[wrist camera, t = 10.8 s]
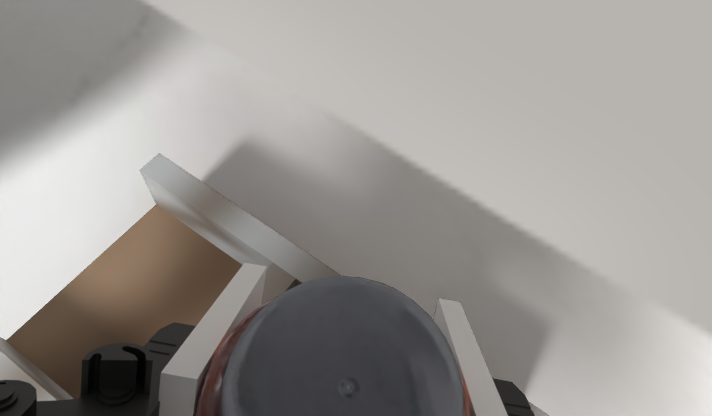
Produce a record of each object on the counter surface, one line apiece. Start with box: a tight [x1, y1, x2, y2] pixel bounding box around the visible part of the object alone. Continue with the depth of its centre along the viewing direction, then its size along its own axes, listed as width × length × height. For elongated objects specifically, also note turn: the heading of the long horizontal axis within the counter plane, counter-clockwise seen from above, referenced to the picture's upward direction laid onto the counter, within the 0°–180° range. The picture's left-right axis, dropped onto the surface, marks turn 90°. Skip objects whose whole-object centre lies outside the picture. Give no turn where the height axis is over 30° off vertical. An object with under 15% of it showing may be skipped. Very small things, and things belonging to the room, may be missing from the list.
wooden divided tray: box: [0, 153, 549, 416], centre depth 19 cm, size 20×12×4 cm, turn 56°
